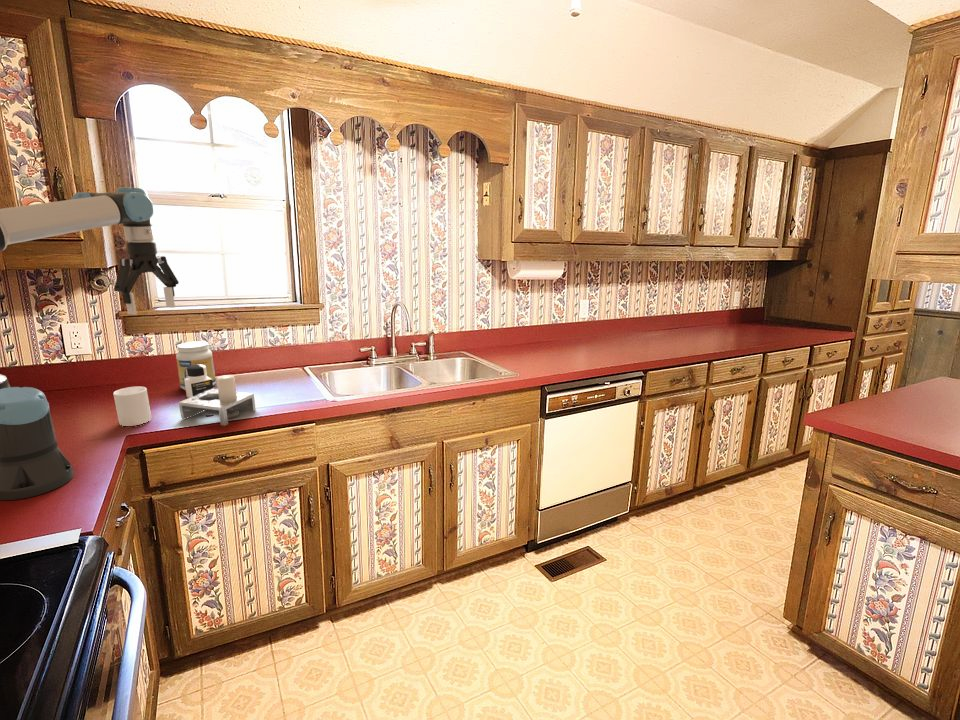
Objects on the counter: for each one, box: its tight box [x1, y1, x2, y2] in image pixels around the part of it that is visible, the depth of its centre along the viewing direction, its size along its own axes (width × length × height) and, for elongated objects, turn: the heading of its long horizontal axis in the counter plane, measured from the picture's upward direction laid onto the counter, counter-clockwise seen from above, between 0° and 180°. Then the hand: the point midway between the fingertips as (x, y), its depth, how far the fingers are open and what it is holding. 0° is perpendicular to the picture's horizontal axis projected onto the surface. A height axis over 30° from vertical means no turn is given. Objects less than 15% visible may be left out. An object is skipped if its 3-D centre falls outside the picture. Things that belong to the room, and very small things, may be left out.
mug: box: [112, 386, 152, 427], centre depth 158 cm, size 9×12×11 cm
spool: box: [215, 374, 240, 419], centre depth 162 cm, size 5×5×13 cm
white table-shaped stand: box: [178, 388, 256, 427], centre depth 164 cm, size 14×17×6 cm
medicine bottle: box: [184, 364, 214, 399], centre depth 180 cm, size 7×7×12 cm
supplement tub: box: [175, 341, 217, 391], centre depth 190 cm, size 12×12×17 cm
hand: (152, 310), depth 156 cm, fingers open, 13 cm apart
